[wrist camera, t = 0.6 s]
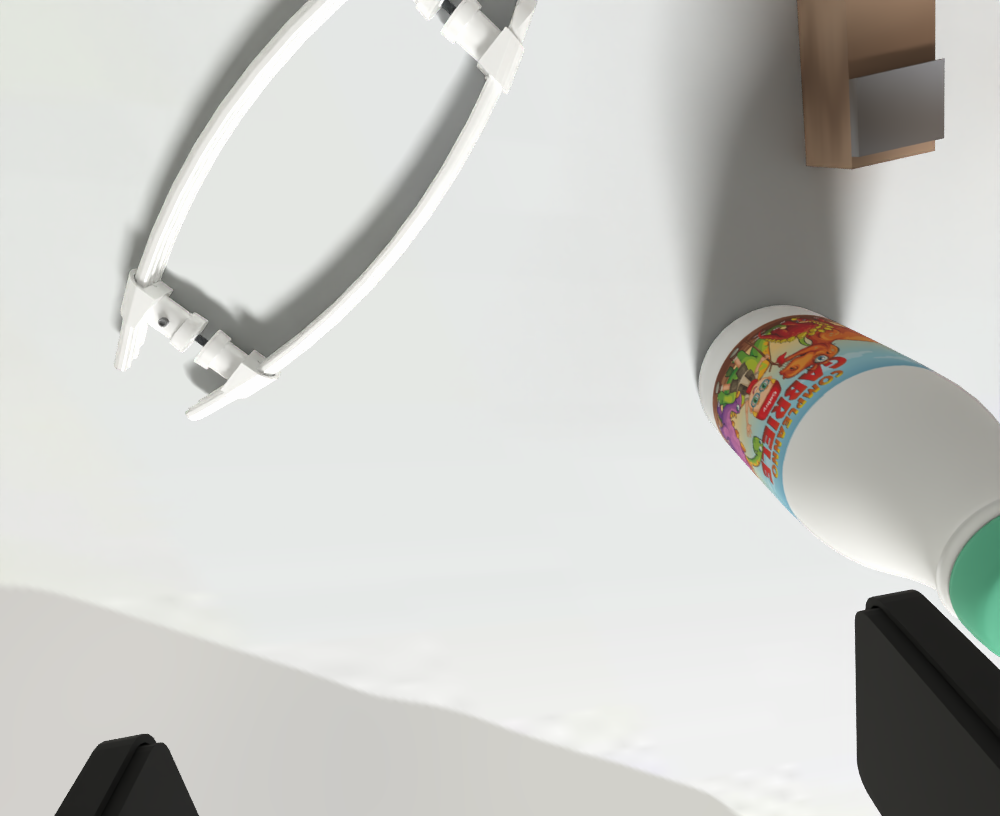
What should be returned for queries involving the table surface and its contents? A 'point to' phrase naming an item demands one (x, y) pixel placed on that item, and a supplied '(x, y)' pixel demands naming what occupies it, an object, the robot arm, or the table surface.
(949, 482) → the milk bottle
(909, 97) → the rail
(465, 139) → the door handle
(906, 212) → the table surface
